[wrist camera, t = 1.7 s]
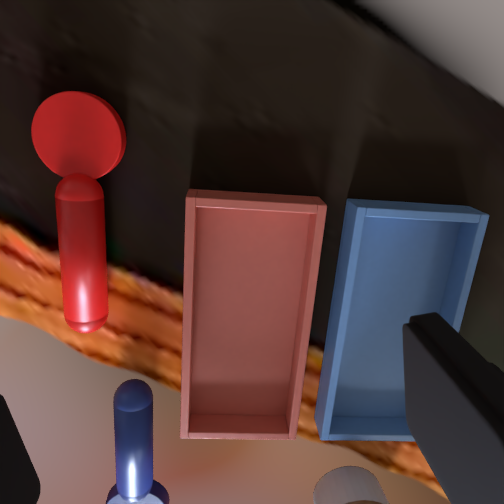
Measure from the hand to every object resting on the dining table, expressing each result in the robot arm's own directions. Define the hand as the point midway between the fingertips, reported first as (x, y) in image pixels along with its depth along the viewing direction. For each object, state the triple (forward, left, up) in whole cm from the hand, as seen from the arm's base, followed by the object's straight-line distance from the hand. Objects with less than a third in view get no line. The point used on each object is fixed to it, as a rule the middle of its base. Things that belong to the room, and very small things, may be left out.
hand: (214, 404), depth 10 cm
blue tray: (+13, -8, -20) cm, 25 cm away
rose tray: (+2, -8, -20) cm, 22 cm away
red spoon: (-9, -1, -20) cm, 22 cm away
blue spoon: (-6, -21, -20) cm, 30 cm away
